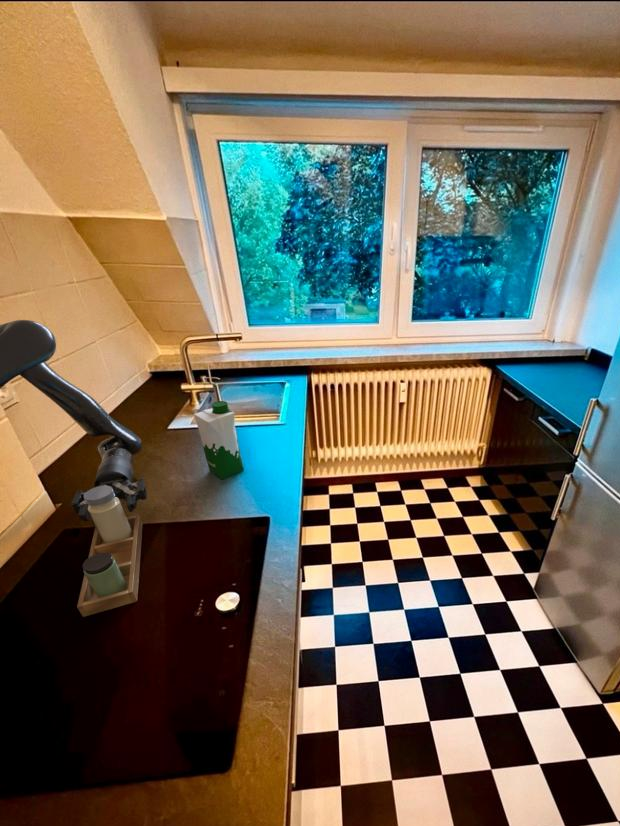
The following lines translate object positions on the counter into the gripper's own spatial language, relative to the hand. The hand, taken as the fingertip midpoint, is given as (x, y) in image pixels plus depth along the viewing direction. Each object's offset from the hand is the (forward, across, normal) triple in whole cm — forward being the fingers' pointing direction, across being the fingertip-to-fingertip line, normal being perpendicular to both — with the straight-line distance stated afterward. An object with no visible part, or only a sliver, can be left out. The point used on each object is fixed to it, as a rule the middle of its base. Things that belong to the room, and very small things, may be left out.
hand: (107, 513), depth 82 cm
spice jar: (+16, 0, +8) cm, 18 cm away
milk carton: (-22, +26, +8) cm, 35 cm away
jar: (0, 0, +8) cm, 8 cm away
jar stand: (+8, 0, +8) cm, 11 cm away
